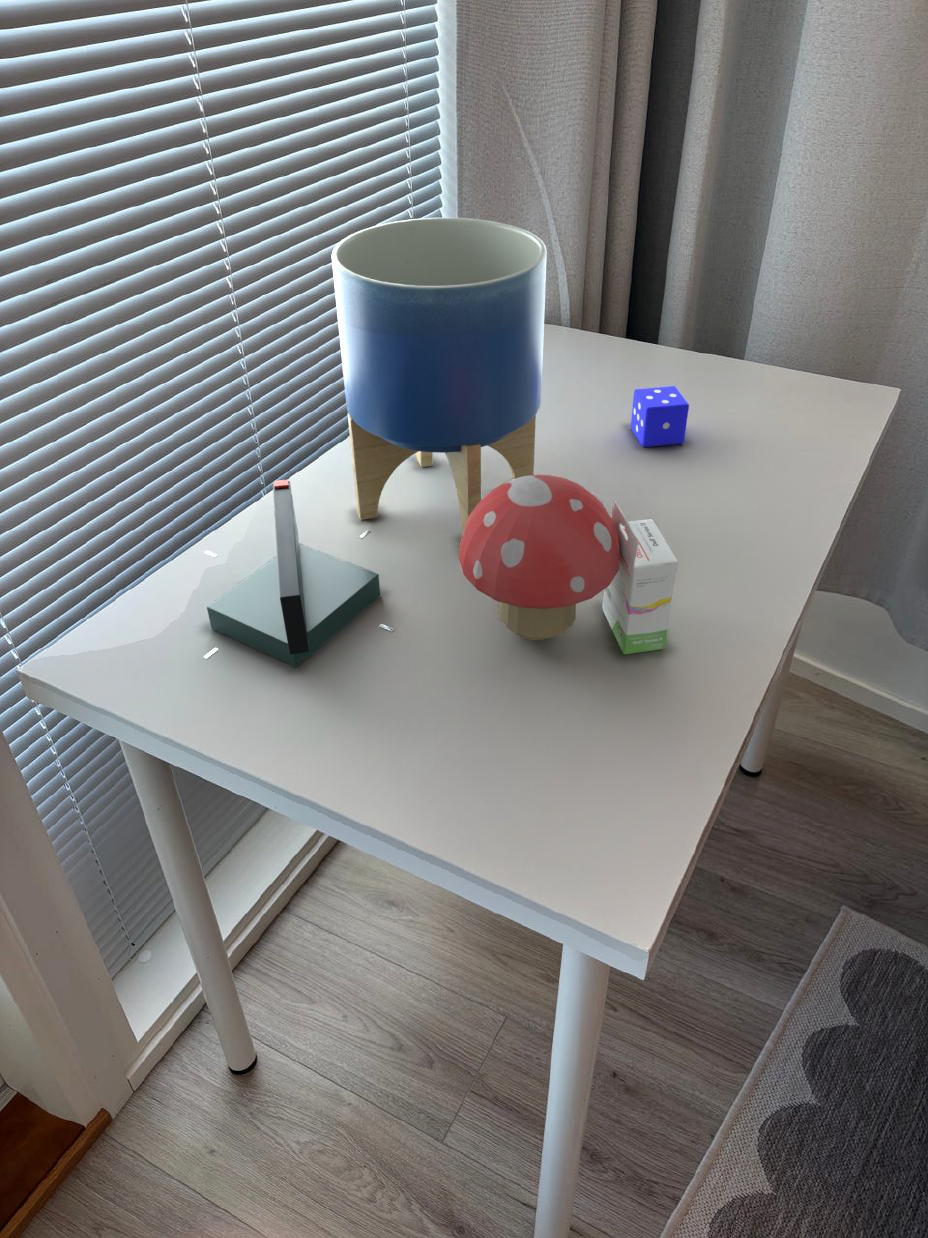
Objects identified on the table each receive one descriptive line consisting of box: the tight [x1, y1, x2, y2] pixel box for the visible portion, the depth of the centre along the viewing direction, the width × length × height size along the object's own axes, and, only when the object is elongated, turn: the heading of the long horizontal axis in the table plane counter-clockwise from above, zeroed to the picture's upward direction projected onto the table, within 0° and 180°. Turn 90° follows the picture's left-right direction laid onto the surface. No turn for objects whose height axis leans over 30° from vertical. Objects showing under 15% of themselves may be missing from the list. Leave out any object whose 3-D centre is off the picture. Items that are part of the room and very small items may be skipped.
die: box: [630, 385, 690, 448], centre depth 110 cm, size 5×5×5 cm
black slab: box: [272, 479, 309, 655], centre depth 83 cm, size 18×2×6 cm, turn 11°
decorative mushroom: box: [458, 474, 620, 641], centre depth 79 cm, size 13×13×15 cm
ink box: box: [601, 500, 679, 655], centre depth 81 cm, size 7×4×12 cm, turn 10°
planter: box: [331, 217, 548, 532], centre depth 93 cm, size 19×19×26 cm
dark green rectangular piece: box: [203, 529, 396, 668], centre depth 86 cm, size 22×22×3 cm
